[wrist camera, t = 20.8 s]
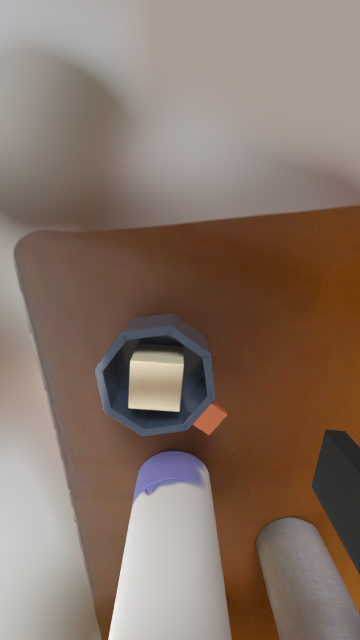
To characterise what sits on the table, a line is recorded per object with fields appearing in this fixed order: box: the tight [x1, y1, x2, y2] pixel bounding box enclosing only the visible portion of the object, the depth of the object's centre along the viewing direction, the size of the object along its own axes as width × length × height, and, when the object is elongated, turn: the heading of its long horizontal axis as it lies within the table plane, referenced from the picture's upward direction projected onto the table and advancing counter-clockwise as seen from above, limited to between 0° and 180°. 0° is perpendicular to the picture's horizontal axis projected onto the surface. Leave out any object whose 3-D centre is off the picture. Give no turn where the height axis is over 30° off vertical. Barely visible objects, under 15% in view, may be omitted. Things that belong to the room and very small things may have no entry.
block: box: [128, 343, 184, 412], centre depth 28 cm, size 5×5×5 cm
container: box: [108, 451, 232, 640], centre depth 28 cm, size 10×10×20 cm
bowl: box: [95, 313, 227, 436], centre depth 29 cm, size 13×11×5 cm
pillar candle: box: [256, 517, 360, 640], centre depth 34 cm, size 10×10×15 cm
